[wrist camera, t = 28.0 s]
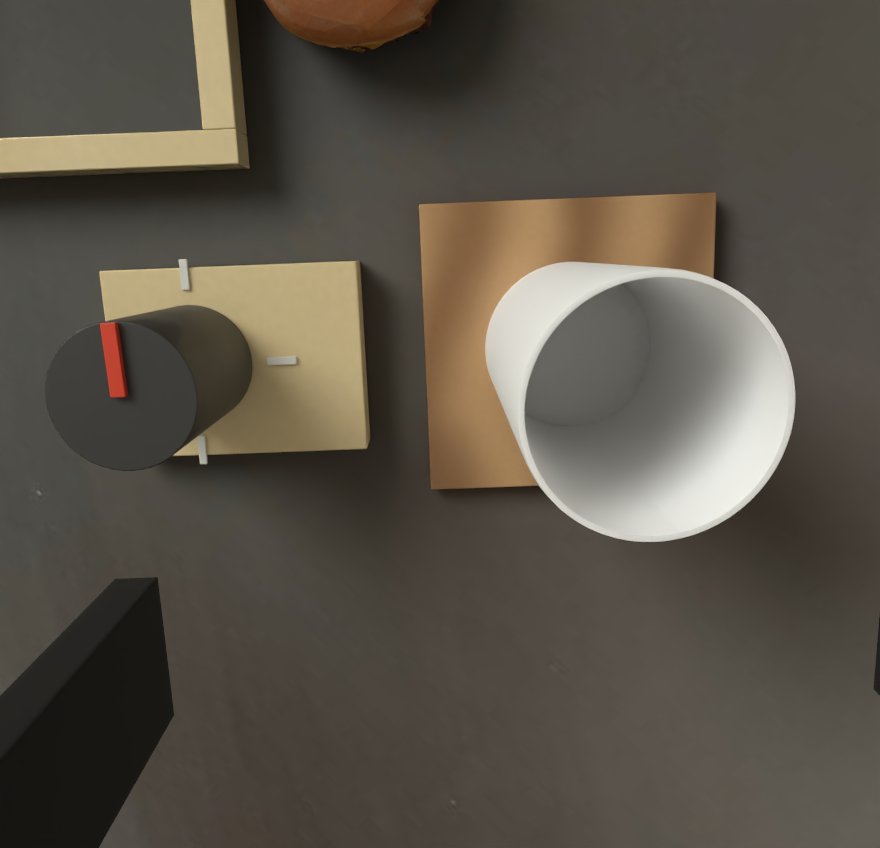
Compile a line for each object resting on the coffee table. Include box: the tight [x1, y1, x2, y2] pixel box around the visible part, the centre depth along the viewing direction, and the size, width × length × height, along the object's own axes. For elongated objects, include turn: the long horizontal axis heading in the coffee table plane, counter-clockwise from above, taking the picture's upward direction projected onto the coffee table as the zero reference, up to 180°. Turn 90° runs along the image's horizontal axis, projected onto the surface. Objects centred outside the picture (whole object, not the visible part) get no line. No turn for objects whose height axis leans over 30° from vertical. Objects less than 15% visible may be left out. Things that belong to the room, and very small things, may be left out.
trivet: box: [419, 193, 716, 490], centre depth 40 cm, size 14×14×1 cm
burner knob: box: [45, 305, 253, 471], centre depth 34 cm, size 6×6×9 cm
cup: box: [485, 262, 795, 542], centre depth 31 cm, size 8×8×16 cm
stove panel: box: [100, 259, 370, 464], centre depth 39 cm, size 13×10×2 cm
